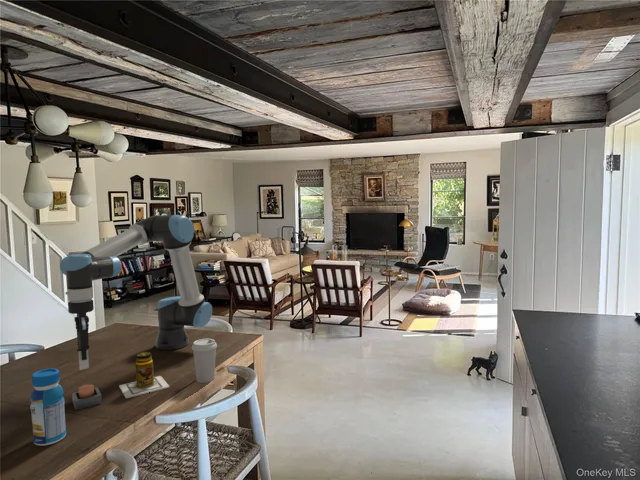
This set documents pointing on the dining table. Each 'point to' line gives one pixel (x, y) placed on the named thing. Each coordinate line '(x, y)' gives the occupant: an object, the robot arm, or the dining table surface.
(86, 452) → the dining table surface
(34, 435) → the beverage bottle
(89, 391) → the button
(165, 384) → the white rectangular plate
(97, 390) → the button box
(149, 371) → the condiment
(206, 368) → the coffee cup
